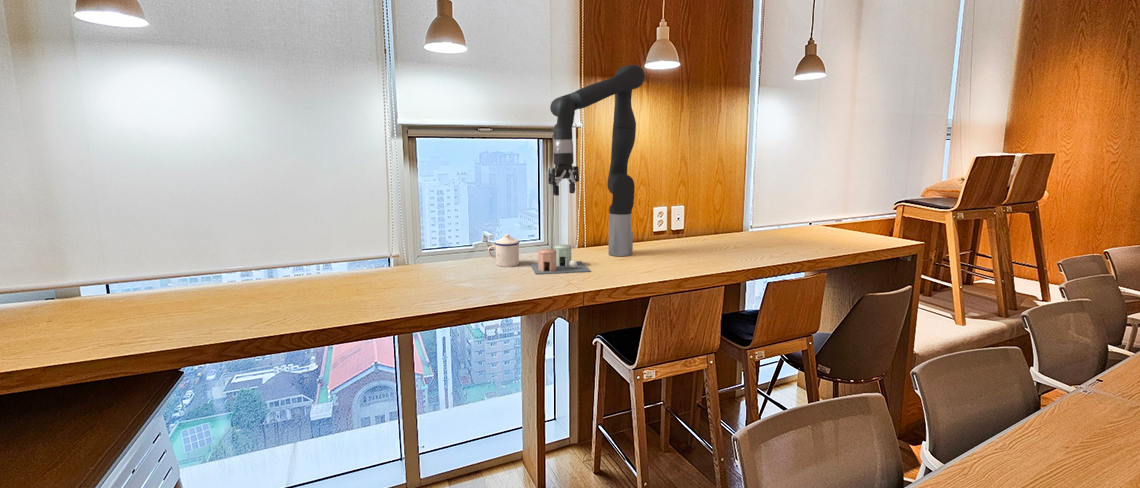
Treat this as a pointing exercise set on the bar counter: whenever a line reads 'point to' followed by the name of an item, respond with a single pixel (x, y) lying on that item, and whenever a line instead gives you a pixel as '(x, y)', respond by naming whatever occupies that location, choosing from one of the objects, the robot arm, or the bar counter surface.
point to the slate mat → (561, 268)
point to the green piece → (563, 254)
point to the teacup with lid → (506, 251)
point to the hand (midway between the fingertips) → (564, 194)
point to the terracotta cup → (547, 259)
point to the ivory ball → (572, 264)
